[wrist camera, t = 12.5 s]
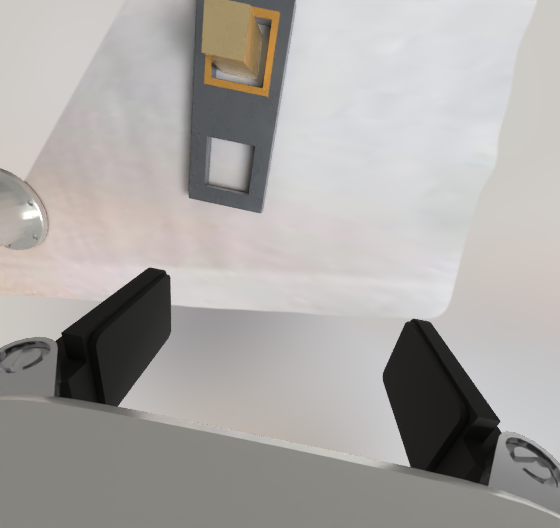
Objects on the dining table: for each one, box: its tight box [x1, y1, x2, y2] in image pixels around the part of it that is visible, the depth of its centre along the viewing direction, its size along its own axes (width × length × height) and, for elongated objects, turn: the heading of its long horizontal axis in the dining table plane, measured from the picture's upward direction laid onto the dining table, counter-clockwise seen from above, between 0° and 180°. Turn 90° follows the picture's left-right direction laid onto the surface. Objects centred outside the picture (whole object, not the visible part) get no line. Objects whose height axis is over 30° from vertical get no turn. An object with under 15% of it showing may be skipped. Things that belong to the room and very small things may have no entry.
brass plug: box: [201, 0, 263, 80], centre depth 26 cm, size 4×4×7 cm
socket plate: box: [189, 0, 296, 213], centre depth 31 cm, size 22×10×2 cm, turn 169°
